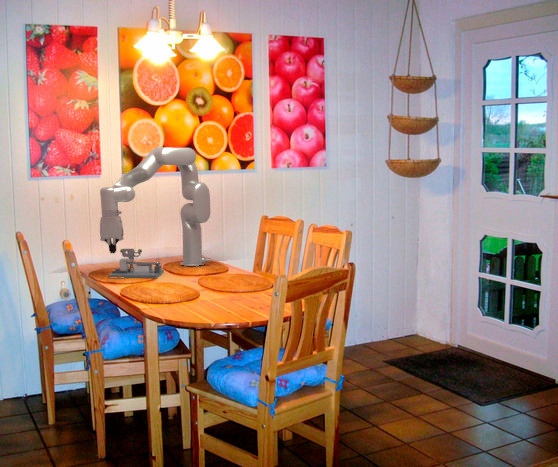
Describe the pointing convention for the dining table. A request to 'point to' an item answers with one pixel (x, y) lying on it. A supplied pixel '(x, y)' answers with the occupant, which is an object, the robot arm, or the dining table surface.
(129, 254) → the mechanical component
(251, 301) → the dining table surface
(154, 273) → the socket board
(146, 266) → the heatsink
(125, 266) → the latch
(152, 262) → the silver metal bar
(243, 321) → the dining table surface
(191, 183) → the robot arm
